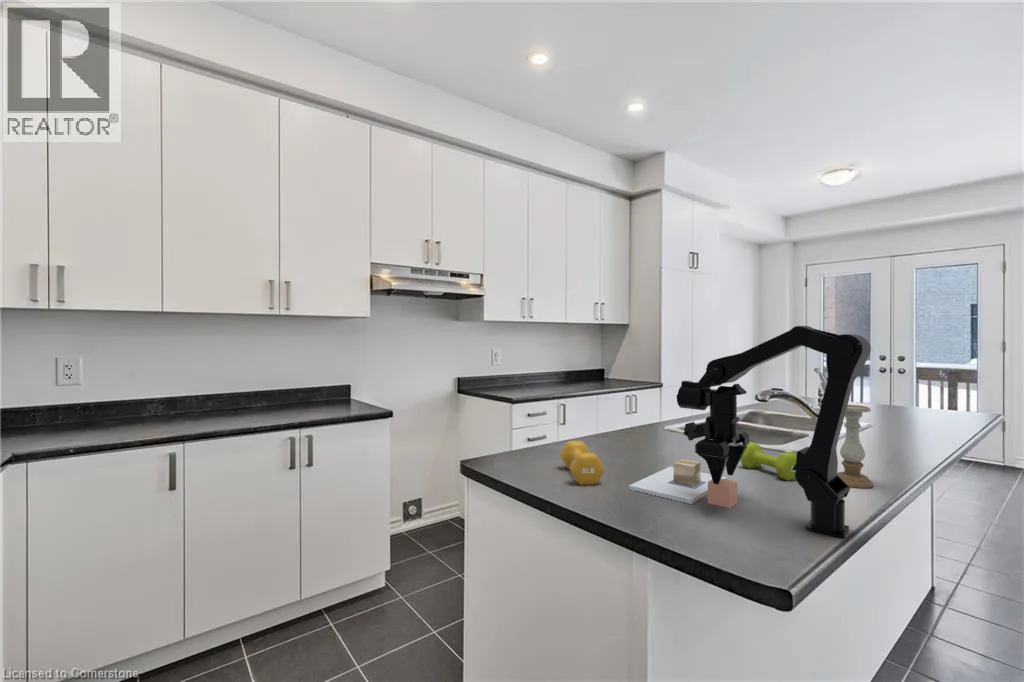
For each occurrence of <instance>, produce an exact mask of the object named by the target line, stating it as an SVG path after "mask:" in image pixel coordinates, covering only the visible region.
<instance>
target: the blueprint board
mask: <svg viewBox="0 0 1024 682" xmlns="http://www.w3.org/2000/svg"><path fill="white" fill-rule="evenodd" d="M721 479H727V480H728V476H727V477H726V476H723V475H722V477H721ZM710 480H712V477H711V474H710V473H707V472H702V471H701V482H699V483H698V484H696V485H694V486H689V485H684V484H679V483H675V482H674V466H668V467H666V468H664V469H662V470H659V471H657V472H655V473H652V474H651V475H649V476H647V477H644V478H642V479H640V480H638V481H636V482H633V483H632V484H629V485H628V490H630V491H633V492H634V491H635V492H638V491H639V493H642V492H644V494H646V493H648V494H647V495H651V494H652V495H651V496H655V495H656V496H655V497H659V496H660V498H663V497H664V499H667V498H668V500H671V499H672V500H673V501H676V500H677V502H680V501H681V502H680V503H684V502H685V503H686V504H688V505H689V504H690V505H692V504H694V503H696V502H697V501H699V500H700V499H701V498H703V497H705V496H707V495H708V482H709V481H710ZM672 500H671V501H672Z"/></svg>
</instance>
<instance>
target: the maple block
mask: <svg viewBox="0 0 1024 682" xmlns="http://www.w3.org/2000/svg"><path fill="white" fill-rule="evenodd" d="M673 467H674V482H675V483H679V484H684V485H689V486H694V485H696V484H698V483H699V482H701V472H702V471H701V462H700V461H693V460H687V459H683V458H681V459H679V460H676V461H674V462H673Z"/></svg>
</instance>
